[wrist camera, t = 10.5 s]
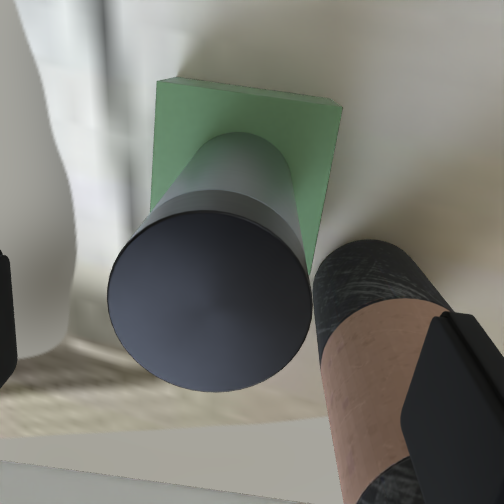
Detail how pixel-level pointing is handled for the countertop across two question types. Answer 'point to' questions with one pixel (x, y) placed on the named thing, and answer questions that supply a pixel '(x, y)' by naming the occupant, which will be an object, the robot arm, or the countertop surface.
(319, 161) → the green block
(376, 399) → the travel mug
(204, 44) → the countertop surface
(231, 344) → the steel flask
